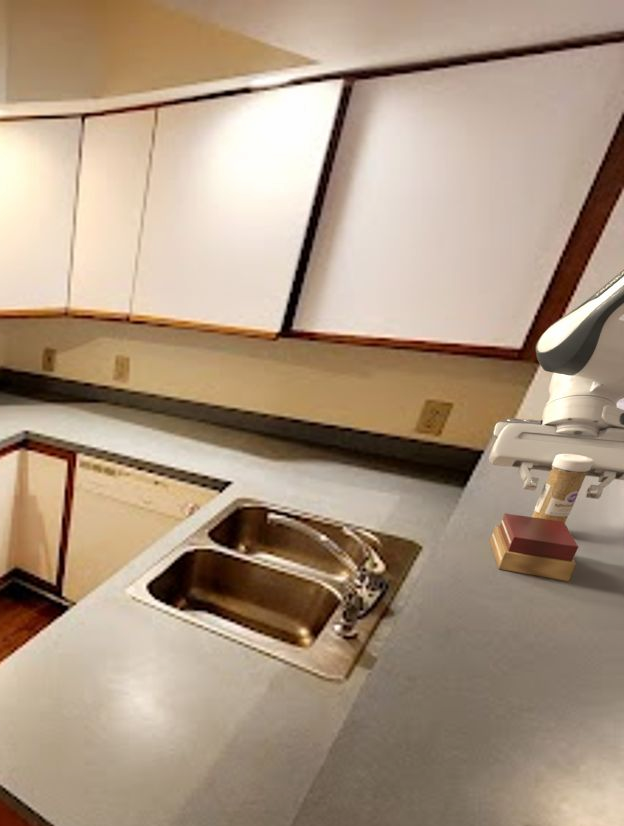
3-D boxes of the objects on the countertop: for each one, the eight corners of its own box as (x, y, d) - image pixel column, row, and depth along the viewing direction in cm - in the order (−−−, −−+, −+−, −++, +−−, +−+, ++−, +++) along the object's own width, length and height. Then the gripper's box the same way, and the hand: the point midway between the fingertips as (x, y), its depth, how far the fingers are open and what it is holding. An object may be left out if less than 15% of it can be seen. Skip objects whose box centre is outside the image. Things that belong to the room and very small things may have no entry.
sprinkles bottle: (553, 536, 107) (585, 462, 102) (520, 527, 111) (550, 455, 105) (567, 531, 109) (600, 458, 103) (535, 522, 113) (565, 451, 107)
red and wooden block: (553, 550, 103) (566, 520, 100) (568, 581, 94) (583, 548, 92) (489, 540, 107) (500, 511, 105) (497, 568, 98) (510, 537, 96)
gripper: (502, 407, 113) (485, 474, 110) (670, 420, 101) (656, 495, 98) (492, 426, 118) (476, 490, 115) (651, 440, 106) (637, 512, 103)
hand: (560, 492), depth 106 cm, fingers open, 6 cm apart
